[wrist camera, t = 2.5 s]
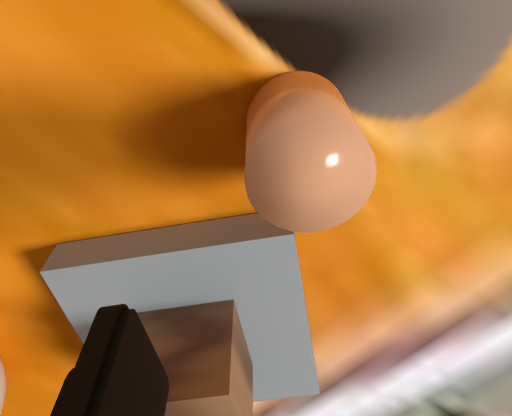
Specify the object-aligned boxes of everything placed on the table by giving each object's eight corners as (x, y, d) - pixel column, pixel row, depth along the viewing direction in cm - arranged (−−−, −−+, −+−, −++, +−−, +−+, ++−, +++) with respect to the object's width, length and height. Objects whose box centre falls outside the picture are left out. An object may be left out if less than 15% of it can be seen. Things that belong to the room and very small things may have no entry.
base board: (290, 207, 24) (293, 233, 22) (315, 363, 31) (319, 394, 29) (57, 243, 25) (39, 271, 23) (135, 385, 32) (127, 416, 30)
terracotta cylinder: (342, 61, 19) (374, 105, 14) (349, 158, 22) (377, 222, 17) (237, 81, 20) (232, 129, 15) (256, 173, 23) (257, 240, 18)
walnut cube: (233, 299, 24) (228, 394, 19) (252, 364, 27) (252, 461, 22) (133, 313, 25) (103, 409, 20) (163, 375, 28) (144, 472, 23)
